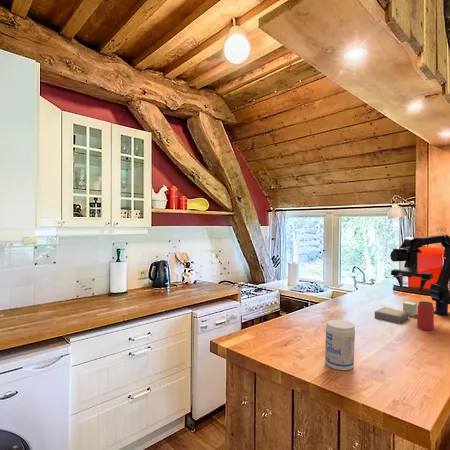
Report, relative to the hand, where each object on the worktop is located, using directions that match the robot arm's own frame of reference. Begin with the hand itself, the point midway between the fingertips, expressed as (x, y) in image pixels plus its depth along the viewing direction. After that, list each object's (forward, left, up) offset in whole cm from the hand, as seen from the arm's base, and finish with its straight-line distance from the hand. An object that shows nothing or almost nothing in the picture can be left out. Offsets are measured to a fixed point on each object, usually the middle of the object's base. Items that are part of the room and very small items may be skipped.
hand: (411, 290), depth 174 cm
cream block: (-1, -1, -13) cm, 13 cm away
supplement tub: (+83, +5, -13) cm, 84 cm away
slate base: (+13, -5, -13) cm, 19 cm away
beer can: (+18, +12, -13) cm, 26 cm away
